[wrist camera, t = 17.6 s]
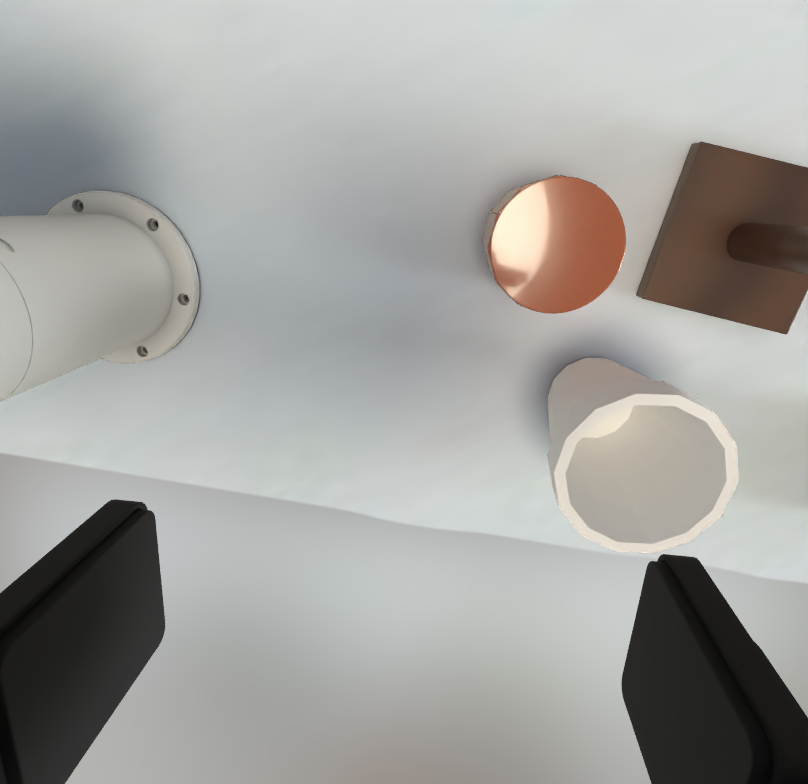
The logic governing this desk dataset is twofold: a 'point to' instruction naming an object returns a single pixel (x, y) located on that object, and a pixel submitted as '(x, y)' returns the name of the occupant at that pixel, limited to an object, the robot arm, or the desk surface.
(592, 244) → the cup
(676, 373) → the desk surface
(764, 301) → the holder
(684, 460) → the foam cup
